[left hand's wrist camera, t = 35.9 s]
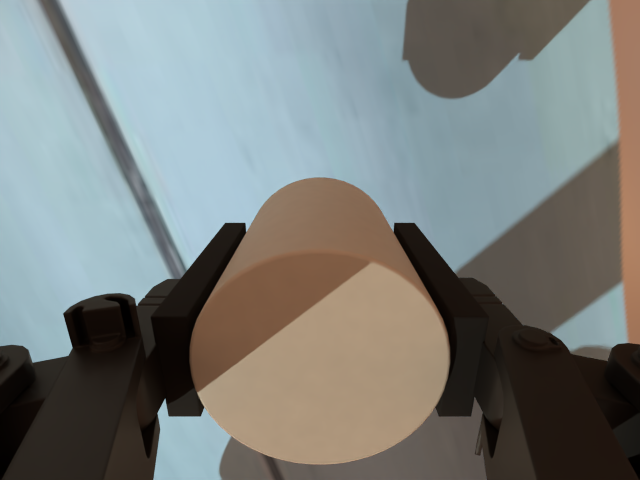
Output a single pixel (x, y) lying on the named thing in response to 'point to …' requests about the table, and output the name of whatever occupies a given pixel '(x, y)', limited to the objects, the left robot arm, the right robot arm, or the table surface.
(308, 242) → the canister
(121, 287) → the table surface
